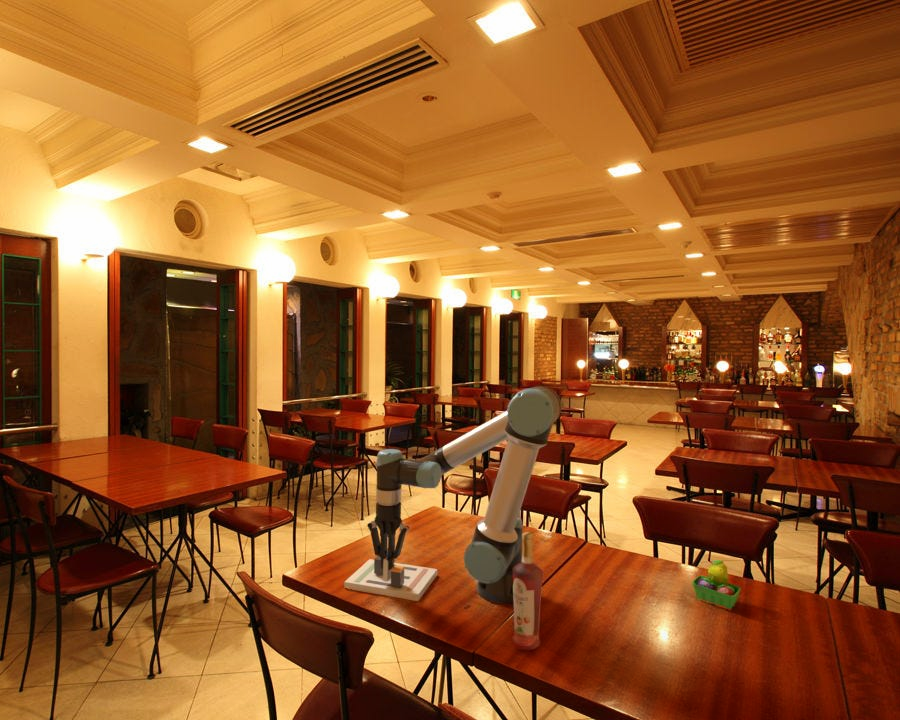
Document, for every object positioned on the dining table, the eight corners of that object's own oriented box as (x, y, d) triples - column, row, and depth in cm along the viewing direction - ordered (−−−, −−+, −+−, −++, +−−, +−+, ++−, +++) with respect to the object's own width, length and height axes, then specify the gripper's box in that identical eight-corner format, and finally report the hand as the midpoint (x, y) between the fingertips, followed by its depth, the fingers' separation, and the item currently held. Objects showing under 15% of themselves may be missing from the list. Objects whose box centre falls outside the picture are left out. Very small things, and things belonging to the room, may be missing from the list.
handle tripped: (404, 583, 148) (404, 566, 148) (400, 587, 145) (400, 570, 145) (394, 581, 149) (395, 565, 149) (390, 586, 146) (391, 569, 146)
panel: (437, 575, 159) (437, 568, 159) (418, 601, 142) (418, 593, 142) (369, 564, 166) (369, 558, 166) (344, 588, 149) (344, 581, 149)
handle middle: (386, 570, 156) (387, 556, 156) (382, 574, 153) (383, 560, 153) (378, 569, 157) (378, 555, 157) (374, 573, 154) (374, 559, 154)
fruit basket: (690, 599, 145) (691, 562, 145) (700, 589, 151) (701, 553, 151) (733, 614, 137) (734, 574, 137) (742, 603, 143) (743, 565, 143)
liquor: (547, 646, 122) (548, 534, 121) (529, 659, 116) (531, 542, 116) (523, 633, 127) (524, 526, 126) (505, 645, 122) (506, 533, 121)
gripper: (413, 500, 149) (411, 577, 150) (374, 495, 153) (373, 570, 153) (403, 508, 142) (401, 588, 142) (363, 502, 146) (361, 581, 146)
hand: (387, 579), depth 148 cm, fingers closed
